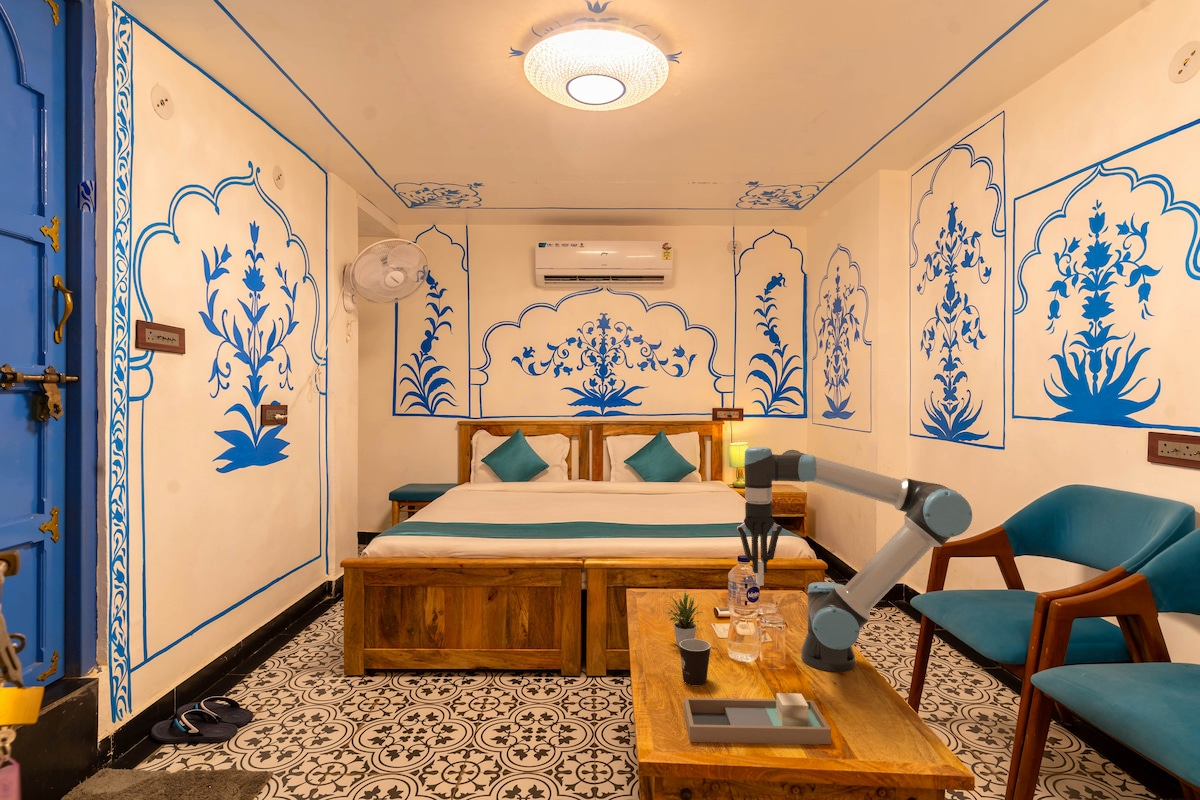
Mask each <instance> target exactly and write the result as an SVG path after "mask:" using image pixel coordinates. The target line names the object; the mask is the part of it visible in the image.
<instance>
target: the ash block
mask: <svg viewBox="0 0 1200 800" xmlns="http://www.w3.org/2000/svg"><path fill="white" fill-rule="evenodd" d="M775 694H776V695H775V696H776V697H775V698H776V714H777V716H778V718H779V720H780V723H781V725H782V726H794V727H808V704H807V703H806V701H805V700H806V699H805V697H804V696H803V695H802V693H797V692H795V693H783V692H777V693H775Z"/></svg>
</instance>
